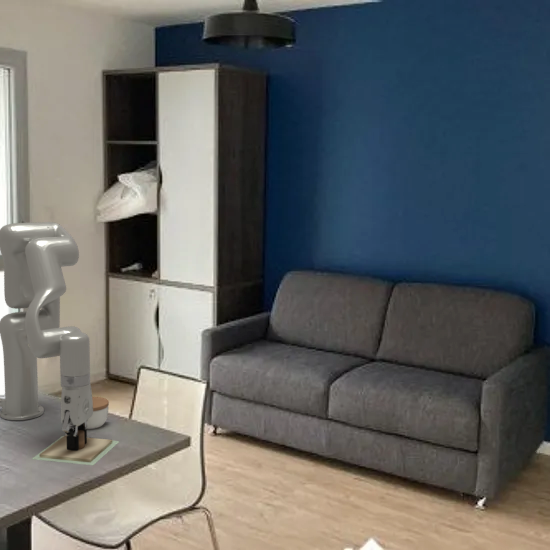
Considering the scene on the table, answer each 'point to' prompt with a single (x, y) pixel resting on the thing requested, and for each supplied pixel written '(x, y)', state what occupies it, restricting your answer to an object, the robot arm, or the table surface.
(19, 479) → the table surface
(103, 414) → the lidded jar
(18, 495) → the table surface
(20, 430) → the table surface
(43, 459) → the mat
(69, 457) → the cover
